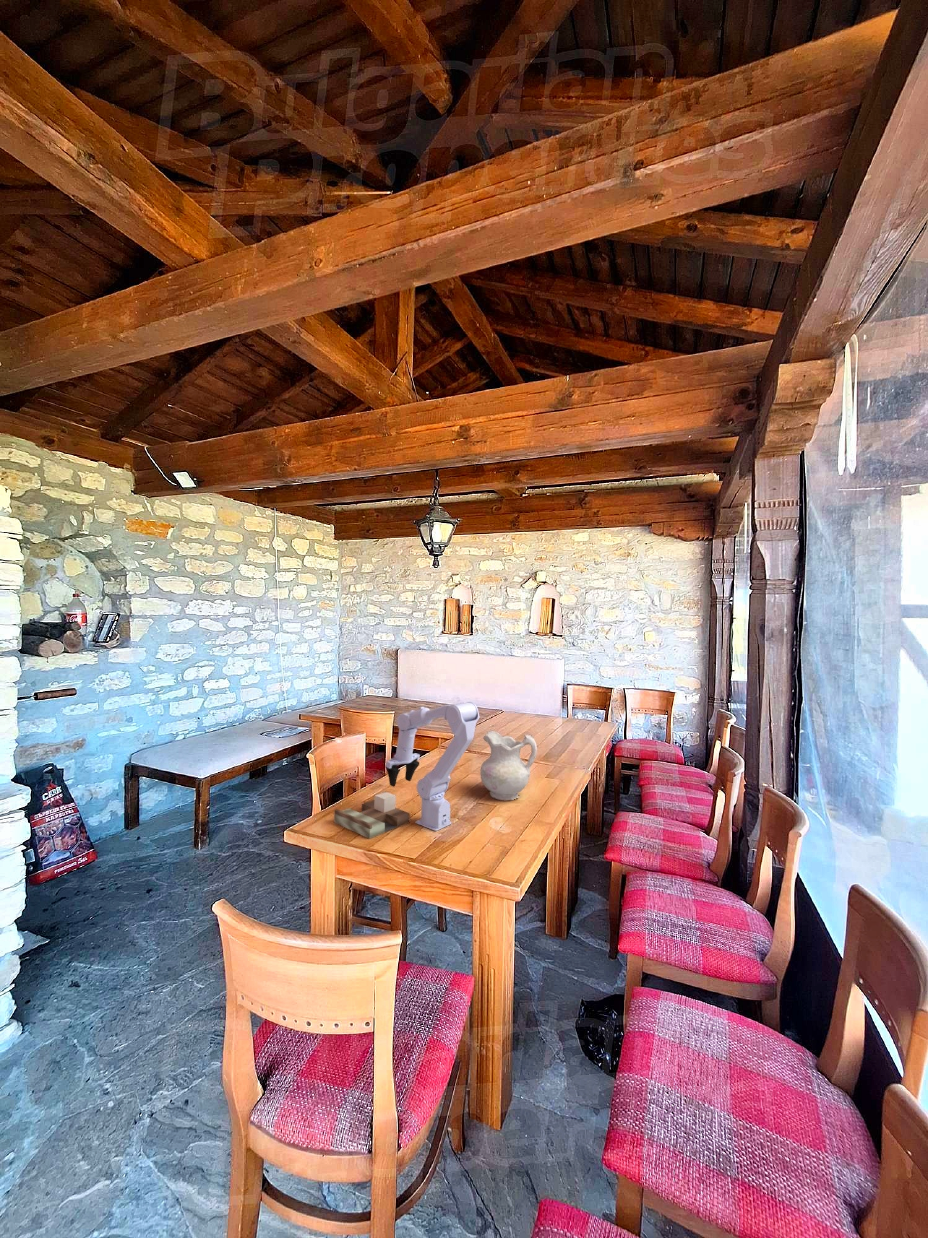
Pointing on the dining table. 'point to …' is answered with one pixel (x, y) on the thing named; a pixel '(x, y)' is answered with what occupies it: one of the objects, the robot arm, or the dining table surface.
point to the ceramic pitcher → (506, 766)
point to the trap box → (371, 820)
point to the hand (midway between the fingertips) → (400, 782)
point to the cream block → (384, 802)
